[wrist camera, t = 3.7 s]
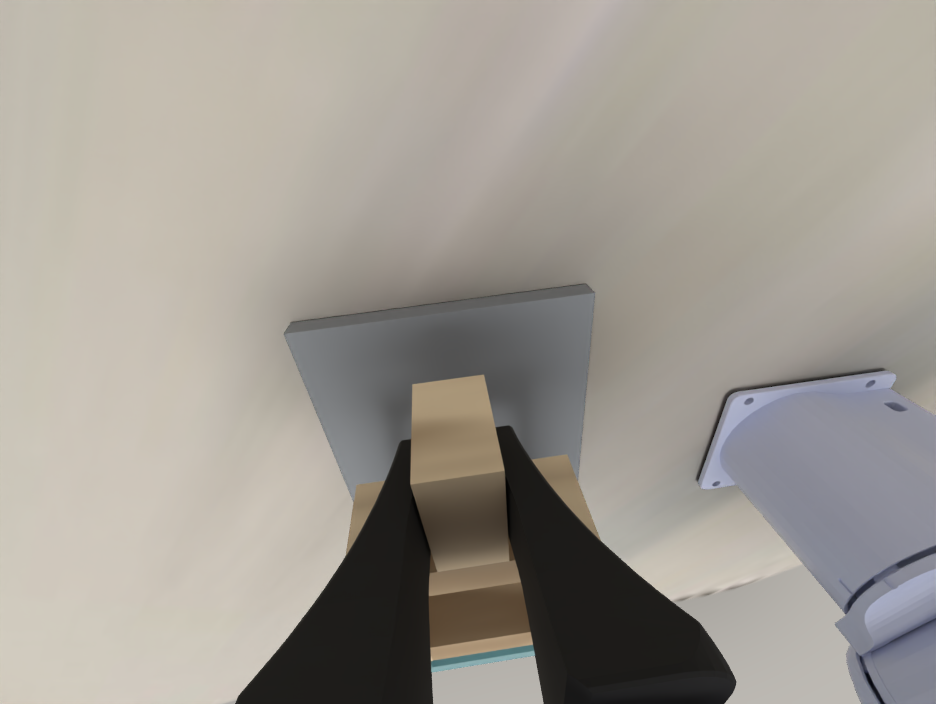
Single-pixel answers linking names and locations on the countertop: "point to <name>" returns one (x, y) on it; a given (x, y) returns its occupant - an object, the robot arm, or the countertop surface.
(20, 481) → the countertop surface
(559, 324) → the board
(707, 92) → the countertop surface
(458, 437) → the maple collar
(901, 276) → the countertop surface
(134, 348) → the countertop surface
